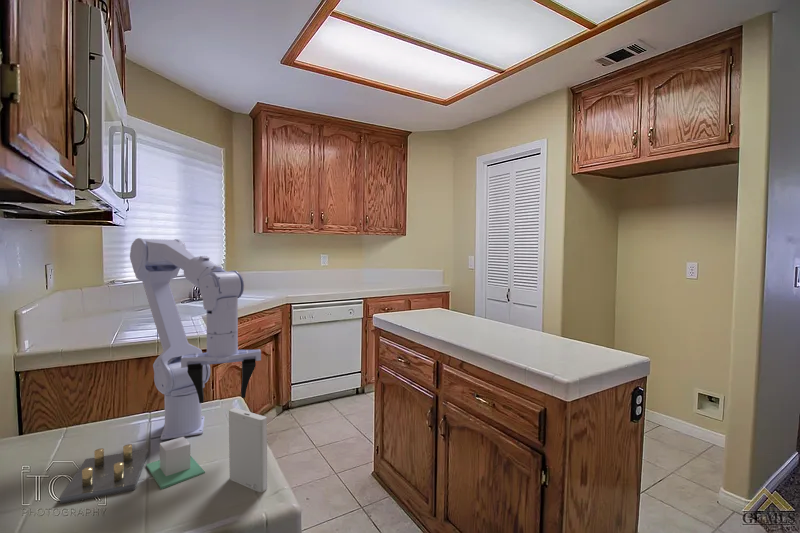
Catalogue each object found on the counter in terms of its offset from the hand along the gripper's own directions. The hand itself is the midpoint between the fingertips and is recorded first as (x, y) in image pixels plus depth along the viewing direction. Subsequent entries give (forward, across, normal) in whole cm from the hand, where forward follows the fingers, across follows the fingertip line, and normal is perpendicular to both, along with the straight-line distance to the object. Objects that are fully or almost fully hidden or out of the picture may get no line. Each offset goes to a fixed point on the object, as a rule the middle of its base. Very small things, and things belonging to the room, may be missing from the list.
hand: (222, 398), depth 82 cm
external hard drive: (+11, +4, -15) cm, 19 cm away
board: (+11, -8, -5) cm, 14 cm away
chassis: (+10, -18, -3) cm, 21 cm away
